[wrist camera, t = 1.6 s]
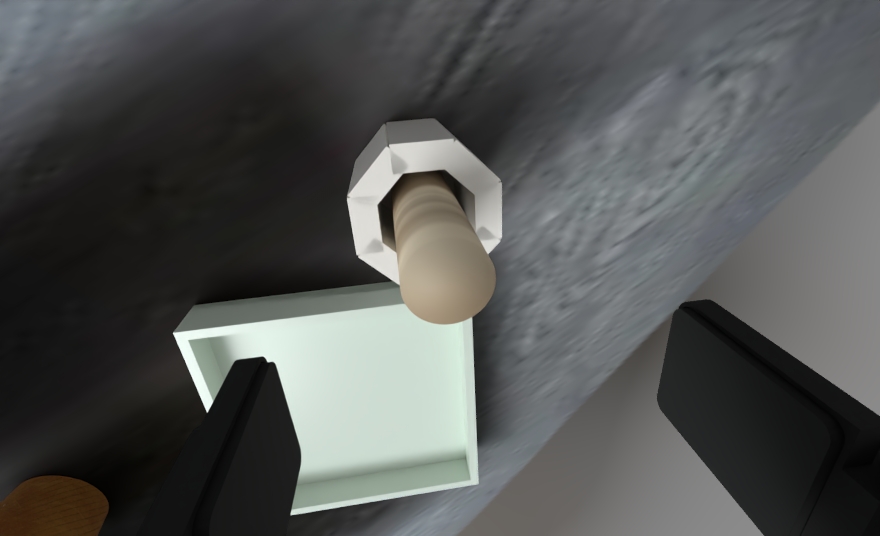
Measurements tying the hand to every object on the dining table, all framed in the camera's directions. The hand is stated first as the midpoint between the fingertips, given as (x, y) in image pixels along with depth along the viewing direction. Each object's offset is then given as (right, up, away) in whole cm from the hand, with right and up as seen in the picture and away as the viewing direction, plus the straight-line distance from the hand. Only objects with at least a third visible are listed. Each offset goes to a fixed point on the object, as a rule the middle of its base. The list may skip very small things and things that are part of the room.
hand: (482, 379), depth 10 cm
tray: (-7, -6, +21) cm, 23 cm away
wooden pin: (-2, +7, +14) cm, 16 cm away
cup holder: (-2, +8, +15) cm, 17 cm away
